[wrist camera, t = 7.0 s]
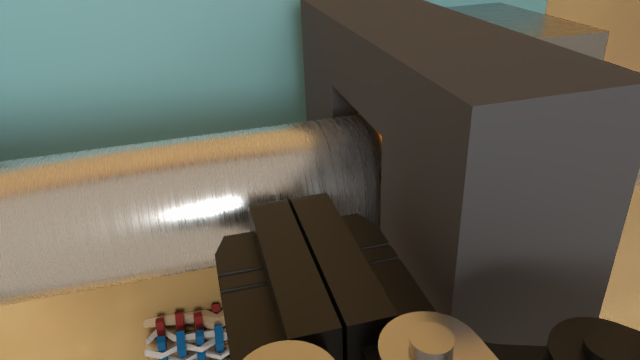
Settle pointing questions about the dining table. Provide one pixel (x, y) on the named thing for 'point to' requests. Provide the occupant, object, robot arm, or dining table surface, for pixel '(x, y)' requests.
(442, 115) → the tall grey rectangular prism
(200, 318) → the woven mat
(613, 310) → the dining table surface
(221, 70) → the base board
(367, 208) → the pipe
